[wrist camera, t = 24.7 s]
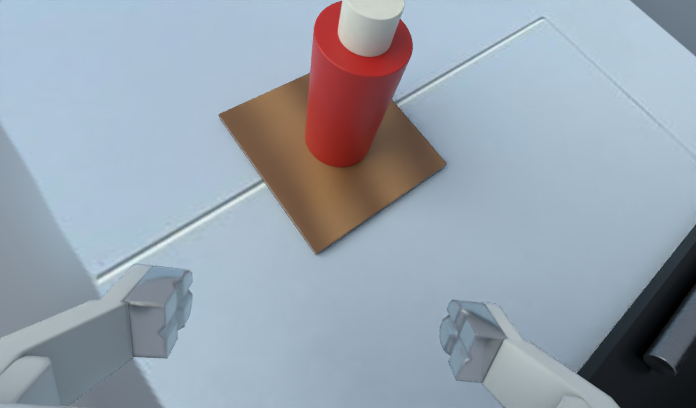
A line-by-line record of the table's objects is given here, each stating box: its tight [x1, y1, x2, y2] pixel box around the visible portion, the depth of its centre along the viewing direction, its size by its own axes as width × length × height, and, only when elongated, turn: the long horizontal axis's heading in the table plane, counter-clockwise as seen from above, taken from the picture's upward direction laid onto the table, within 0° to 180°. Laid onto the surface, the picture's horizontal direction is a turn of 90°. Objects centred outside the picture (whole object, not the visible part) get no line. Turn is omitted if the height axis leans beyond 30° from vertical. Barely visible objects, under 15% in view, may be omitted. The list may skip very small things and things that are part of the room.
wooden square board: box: [219, 73, 447, 255], centre depth 24 cm, size 12×12×1 cm
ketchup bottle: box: [305, 0, 413, 167], centre depth 19 cm, size 5×5×11 cm
